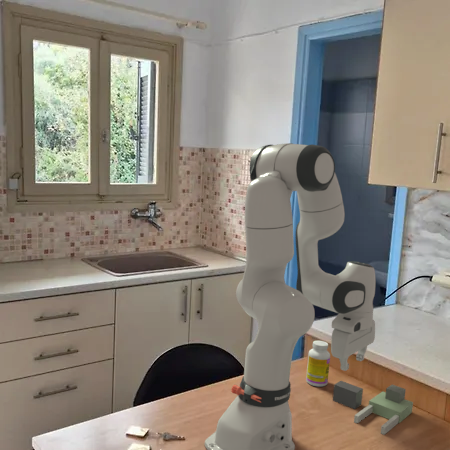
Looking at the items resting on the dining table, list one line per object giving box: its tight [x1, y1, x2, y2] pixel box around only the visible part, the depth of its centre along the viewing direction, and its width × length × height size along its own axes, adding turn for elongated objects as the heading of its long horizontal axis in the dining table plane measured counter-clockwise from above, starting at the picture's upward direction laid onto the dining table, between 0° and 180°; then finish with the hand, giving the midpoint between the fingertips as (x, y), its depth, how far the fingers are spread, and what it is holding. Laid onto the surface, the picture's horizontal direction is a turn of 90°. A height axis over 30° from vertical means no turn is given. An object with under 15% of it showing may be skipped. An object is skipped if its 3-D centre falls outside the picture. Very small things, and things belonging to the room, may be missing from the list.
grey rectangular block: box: [332, 380, 364, 410], centre depth 148 cm, size 7×4×5 cm, turn 49°
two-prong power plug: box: [353, 384, 414, 436], centre depth 141 cm, size 18×9×6 cm, turn 139°
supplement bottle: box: [305, 340, 331, 387], centre depth 160 cm, size 7×7×13 cm
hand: (352, 364), depth 148 cm, fingers open, 8 cm apart
